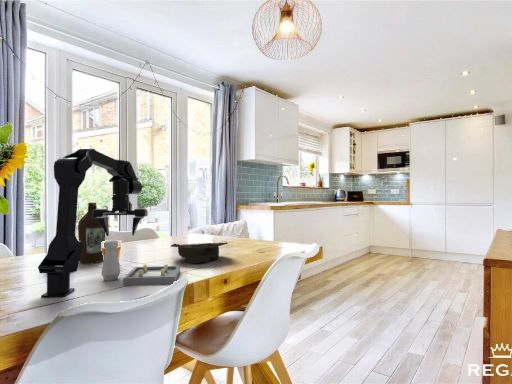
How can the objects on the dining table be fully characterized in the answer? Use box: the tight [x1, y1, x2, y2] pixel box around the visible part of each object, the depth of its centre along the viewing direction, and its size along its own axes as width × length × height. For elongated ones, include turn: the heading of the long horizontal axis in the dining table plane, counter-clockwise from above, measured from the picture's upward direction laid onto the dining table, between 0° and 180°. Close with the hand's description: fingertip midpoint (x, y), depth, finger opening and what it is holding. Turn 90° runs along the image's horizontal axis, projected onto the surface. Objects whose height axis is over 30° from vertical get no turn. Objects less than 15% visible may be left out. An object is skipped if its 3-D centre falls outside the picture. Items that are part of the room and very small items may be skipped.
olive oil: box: [77, 202, 106, 265], centre depth 139 cm, size 11×11×25 cm
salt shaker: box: [101, 240, 121, 282], centre depth 110 cm, size 6×6×13 cm
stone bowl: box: [170, 242, 229, 265], centre depth 144 cm, size 25×25×9 cm
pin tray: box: [122, 263, 181, 286], centre depth 112 cm, size 16×16×4 cm
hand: (120, 235), depth 123 cm, fingers open, 9 cm apart
